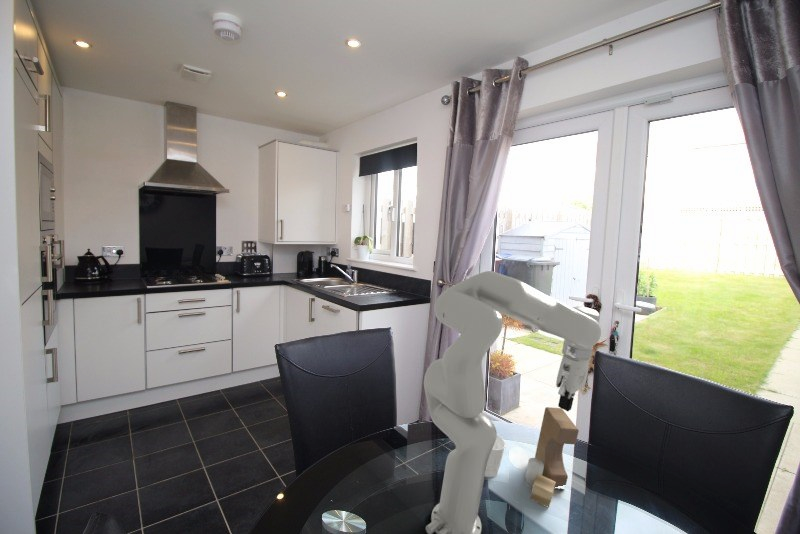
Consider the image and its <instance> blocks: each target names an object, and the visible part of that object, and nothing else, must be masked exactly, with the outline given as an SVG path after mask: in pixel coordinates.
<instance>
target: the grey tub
mask: <svg viewBox="0 0 800 534" xmlns="http://www.w3.org/2000/svg"><path fill="white" fill-rule="evenodd" d="M543 469H544V464H543V462H542V461H541V460H539V459H536V458H535V457H530V458H529V459H528V462H527V468H526V472H525V476H524V480H525V482H526V483H527V484H529V485H530V486H532V485H533V484H534V481H535V479H536V477H537V474H540V475H542V473H543Z"/></svg>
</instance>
